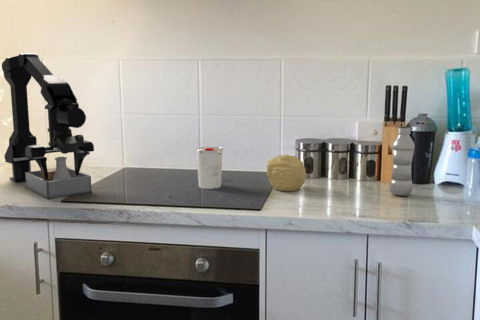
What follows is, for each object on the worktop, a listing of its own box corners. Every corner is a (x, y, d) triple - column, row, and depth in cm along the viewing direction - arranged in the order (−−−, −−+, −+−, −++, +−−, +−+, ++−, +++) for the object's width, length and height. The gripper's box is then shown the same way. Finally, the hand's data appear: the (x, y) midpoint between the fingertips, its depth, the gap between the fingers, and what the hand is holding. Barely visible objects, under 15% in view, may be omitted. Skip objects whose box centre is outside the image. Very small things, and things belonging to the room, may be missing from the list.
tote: (26, 188, 164) (25, 172, 163) (67, 182, 172) (66, 167, 172) (47, 199, 150) (46, 182, 150) (91, 192, 159) (90, 175, 158)
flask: (80, 188, 161) (78, 155, 159) (66, 193, 154) (64, 160, 153) (58, 187, 163) (56, 155, 161) (44, 192, 156) (42, 159, 154)
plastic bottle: (413, 193, 157) (417, 126, 153) (410, 199, 151) (414, 129, 147) (391, 191, 159) (394, 125, 156) (387, 196, 153) (390, 127, 150)
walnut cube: (47, 188, 161) (46, 172, 160) (41, 185, 165) (40, 169, 164) (63, 185, 164) (62, 170, 164) (57, 183, 168) (56, 167, 167)
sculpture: (262, 191, 159) (262, 156, 158) (275, 183, 170) (275, 150, 168) (299, 195, 155) (300, 159, 153) (309, 186, 166) (310, 152, 164)
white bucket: (189, 186, 166) (188, 148, 164) (207, 182, 173) (207, 145, 171) (212, 191, 160) (211, 152, 158) (230, 186, 166) (230, 148, 164)
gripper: (36, 130, 143) (40, 186, 146) (100, 125, 155) (103, 177, 158) (22, 126, 152) (26, 179, 154) (85, 122, 163) (87, 171, 166)
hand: (62, 177), depth 158 cm, fingers open, 9 cm apart
